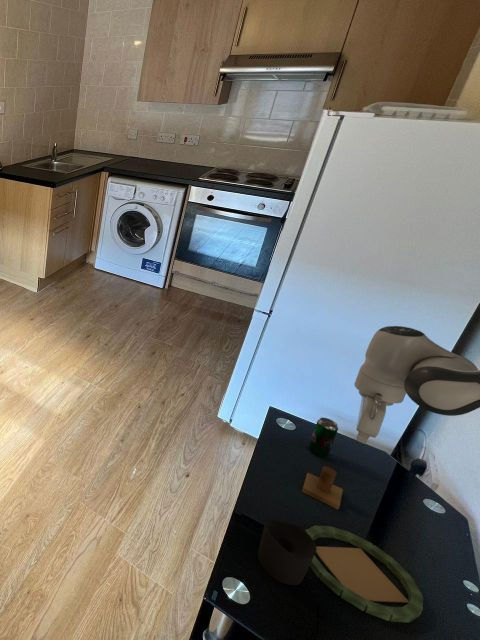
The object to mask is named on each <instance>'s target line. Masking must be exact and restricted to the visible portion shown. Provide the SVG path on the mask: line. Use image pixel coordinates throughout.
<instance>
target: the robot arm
mask: <svg viewBox="0 0 480 640" xmlns="http://www.w3.org/2000/svg"><path fill="white" fill-rule="evenodd" d="M364 355H365V356H364V357H365V360H364V362H363V363H362V365H360V367H359V370H358V373H357V376H356V379H355V381H354V383H353V384H354V387H355V388H356V390H358V394H359V395H360V396H361V400H360V404H359V405H360V406H359V411H358V416H357V422H356V423H357V424H356V431H357V435H356V441H357V442H359V443H361V444H367V442H368V440H369V438H370V437H371V438H372V439H373V438H374V439H375V438H377V437H378V436H379V433H380V431H381V427H382V425H383V423H384V419H385V418H386V417H385V416H386V413H387V407H391V406H394V404H401V403H403V401H404V399H405V397H406V395H407V397H408V398H409V399H410V400H411V401H412V402H413V403H414V404H416V405H417V406H418V407H420V408H422V409H424V410H426V411H428V412H430V413H433V414H437V415H441V416H447V417H448V416H449V417H456V416H462V415H467V414H469V413H471V412H474V411H475V410H478V409H480V369H479V368H477V366H476V365H475V364H474V363H473V362H472V361H471V360H469V359H468V358H467V357H464V356H463V355H460V354H457V353H454V352H452V351H450V350H448V349H446V348H444V347H442V346H440V345H439V344H437V343H436V342H434V341H433V340H432V339H431V338H429V337H428V336H427V335H426V334H425V333H424V332H422V331H421V330H418V329H415V328H413V327H409V326H408V327H407V326H401V325H387V326H384V327H381V328H379V329H378V330H377V331H375V333H374V334H373V336H372V338H371V340H370V341H369V344H368V346H367V348H366V351H365V354H364Z"/></svg>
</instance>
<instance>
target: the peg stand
mask: <svg viewBox="0 0 480 640" xmlns="http://www.w3.org/2000/svg"><path fill="white" fill-rule="evenodd" d="M336 476H337V472H336V470H335V469H334V468H331V467H330V466H325V465H324V466H323V467H322V468H321V471H320V474H319V477H318V476H316V475H315V474H312V473H310V472H307V473H306V477H305V479H304V483H303V486H302V490H301V492H302V493H304V494H306V495H307V496H310V497H312V498H314V499H315V500H317V501H319V502H321V503H324V504H326V505H327V506H329V507H332V508H334V509H336V510H338V511H339V509H340V507H341V502H342V497H343V491H344V489H343V488H341V487H339V486H337V485H335V484H334V482H335V479H336Z"/></svg>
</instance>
